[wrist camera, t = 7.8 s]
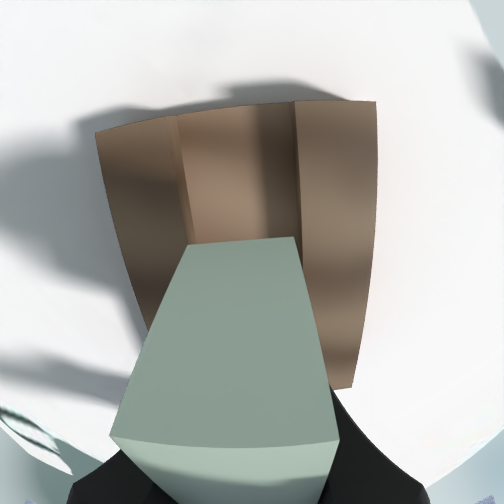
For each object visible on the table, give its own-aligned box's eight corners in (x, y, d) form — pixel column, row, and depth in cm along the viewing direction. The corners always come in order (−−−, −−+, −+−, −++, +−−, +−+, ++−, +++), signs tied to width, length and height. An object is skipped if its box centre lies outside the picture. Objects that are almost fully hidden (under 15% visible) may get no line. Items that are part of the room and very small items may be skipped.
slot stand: (343, 356, 24) (351, 387, 21) (183, 366, 25) (176, 396, 22) (354, 102, 15) (375, 101, 12) (122, 127, 16) (94, 133, 13)
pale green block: (295, 398, 16) (306, 528, 8) (225, 402, 16) (214, 530, 9) (293, 236, 11) (340, 440, 4) (187, 245, 11) (108, 436, 4)
